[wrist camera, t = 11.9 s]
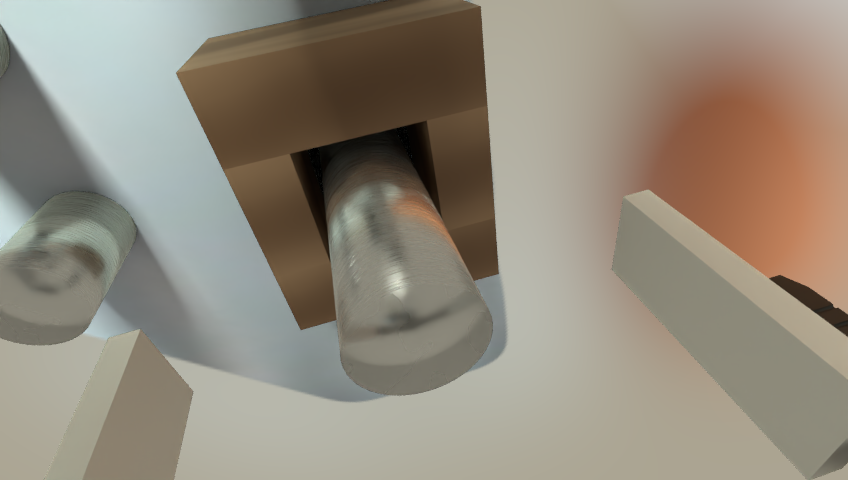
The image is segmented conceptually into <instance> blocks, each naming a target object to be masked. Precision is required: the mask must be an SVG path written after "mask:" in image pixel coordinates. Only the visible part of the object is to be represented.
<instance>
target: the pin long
mask: <svg viewBox="0 0 848 480" xmlns="http://www.w3.org/2000/svg"><path fill="white" fill-rule="evenodd" d="M9 60H10V49H9V44H8V40H7V37H6V35H5V33H4V31H3V29H2V27H1V25H0V77H1V76H2V75H3V74H4V73H5V71H6V70H7V67H8V65H9Z"/></svg>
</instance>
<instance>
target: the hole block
mask: <svg viewBox="0 0 848 480" xmlns="http://www.w3.org/2000/svg"><path fill="white" fill-rule="evenodd" d="M176 74H177V76H178V78H179V80H180V82H181V84H182V87H183V89H184V91H185V93H186V95H187V97H188V99H189V101H190V103H191V105H192V107H193V109H194V111H195V113H196V115H197V117H198V119H199V122H200V124H201V126H202V128H203V130H204V132H205V134H206V136H207V138H208V140H209V142H210V144H211V146H212V148H213V150H214V152H215V154H216V156H217V159H218V161H219V163H220V165H221V167H222V169H223V171H224V173H225V175H226V177H227V179H228V181H229V183H230V185H231V187H232V189H233V191H234V194H235V196H236V198H237V200H238V202H239V204H240V206H241V208H242V210H243V212H244V214H245V216H246V218H247V220H248V222H249V224H250V226H251V229H252V231H253V233H254V235H255V237H256V239H257V241H258V243H259V245H260V247H261V249H262V251H263V253H264V255H265V257H266V259H267V261H268V263H269V266H270V268H271V270H272V272H273V274H274V276H275V278H276V280H277V282H278V284H279V286H280V288H281V290H282V292H283V294H284V296H285V298H286V301H287V303H288V305H289V307H290V309H291V311H292V313H293V315H294V317H295V319H296V321H297V323H298V325H299V327H300V329H301V330H303V329H306V328H310V327H313V326H317V325H320V324H324V323H327V322H331V321H334V320H337V318H336V308H335V298H334V289H333V279H332V269H331V259H330V250H329V240H328V230H327V220H326V211H325V201H324V196H323V194H322V191H321V188H320V185H319V182H318V179H317V176H316V173H315V170H314V167H313V164H312V162H311V159H310V156H309V153H308V149H312V148H316V147H320V146H324V145H328V144H332V143H336V142H341V141H345V140H349V139H353V138H357V137H361V136H365V135H369V134H373V133H378V132H382V131H386V130H390V129H394V128H398V127H402V126H406V127H407V133H408V138H409V143H410V149H411V154H412V159H413V165H414V167H415V169H416V171H417V173H418V175H419V176H420V178H421V180H422V182H423V184H424V186H425V188H426V190H427V192H428V194H429V196H430V198H431V200H432V201H433V203H434V205H435V207H436V209H437V211H438V213H439V215H440V217H441V219H442V221H443V223H444V225H445V226H446V228H447V230H448V232H449V234H450V236H451V238H452V240H453V242H454V244H455V246H456V248H457V250H458V251H459V253H460V255H461V257H462V259H463V261H464V263H465V265H466V267H467V269H468V271H469V273H470V275H471V276H472V278H473V280H474V281H475V280H478V279H482V278H485V277H489V276H492V275H496V274H499V271H498V256H497V242H496V227H495V212H494V197H493V182H492V167H491V153H490V138H489V123H488V108H487V93H486V79H485V64H484V49H483V34H482V19H481V7H480V6H478V5H475V4H472V3H469V2H467V1H464V0H388V1H383V2H378V3H373V4H369V5H364V6H359V7H355V8H350V9H345V10H340V11H336V12H331V13H326V14H322V15H317V16H312V17H307V18H303V19H298V20H293V21H288V22H284V23H279V24H274V25H270V26H265V27H260V28H255V29H251V30H246V31H241V32H237V33H232V34H227V35H222V36H218V37H213V38H208V39H207V41H206V42H205V43H204V44H203V45H202V46H201V47H200V48H199V49H198V50H197V51H196V52H195V53H194V54H193V55H192V56H191V58H190V59H189V60H188V61H187V62H186V63H185V64H184V65H183V66H182V67H181V68H180V69H179V70H178V71H177V72H176Z"/></svg>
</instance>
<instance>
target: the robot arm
mask: <svg viewBox="0 0 848 480" xmlns="http://www.w3.org/2000/svg"><path fill="white" fill-rule="evenodd" d="M612 270H613V271H614V272H615V273H616V275H617V276H618V277H619V278H620V279H621V280H622V281H623V282H624V283H625V284H626V285H627V286H628V288H629V289H630V290H631V291H632V292H633V293H634V294H635V295H636V296H637V297H638V298H639V299H640V300H641V302H643V304H644V305H645V306H646V307H647V308H648V309H649V310H650V311H651V312H652V313H653V314H654V315H655V317H656V318H658V320H659V321H660V322H661V323H662V324H663V325H664V326H665V327H666V328H667V329H668V331H669V332H670V333H671V334H672V335H673V336H674V337H675V338H676V339H677V340H678V341H679V342H680V343H681V345H682V346H683V347H684V348H685V349H686V350H687V351H688V352H689V353H690V354H691V355H692V356H693V357H694V359H695V360H697V362H698V363H699V364H700V365H701V366H702V367H703V368H704V369H705V370H706V371H707V373H708V374H709V375H710V376H711V377H712V378H713V379H714V380H715V381H716V382H717V383H718V384H719V385H720V386H721V388H722V389H723V390H725V392H726V393H727V394H728V395H729V396H730V397H731V398H732V399H733V400H734V402H735V403H736V404H737V405H738V406H739V407H740V408H741V409H742V410H743V411H744V412H745V413H746V414H747V415H748V417H749V418H750V419H751V420H752V421H753V422H754V423H755V424H756V425H757V426H758V427H759V428H760V430H762V432H763V433H764V434H765V435H766V436H767V437H768V438H769V439H770V440H771V441H772V442H773V444H774V445H775V446H776V447H777V448H778V449H779V450H780V451H781V452H782V453H783V454H784V455H785V456H786V458H787V459H788V460H789V461H790V462H791V463H792V464H793V465H794V466H795V467H796V468H797V469H798V470H799V472H800V473H802V475H803V476H804V477H805V478H806V479H807V480H811V479H814V478H817V477H820V476H822V475H825V474H828V473H830V472H833V471H836V470H839V469H842V468H843V467H844V466H845V465H846V464H847V463H848V314H846V313H845V312H843V311H842V310H841V309H839V308H834V307H833V304H832V303H831V302H829V301H827V300H826V299H825V298H823V297H822V296H820V295H819V294H817V293H816V292H815V291H813V290H812V289H810V288H809V287H807V286H805V285H802V284H800V283H797V282H795V281H793V280H790V279H788V278H786V277H783V276H781V275H778V276H775V277H772V278H767V277H766V276H764V275H763V274H762V273H760V272H759V271H758V270H756V269H755V268H754V267H752V266H751V265H750V264H748V263H747V262H745V261H744V260H743V259H741V258H740V257H739V256H737V255H736V254H735V253H733V252H732V251H731V250H729V249H728V248H727V247H725V246H724V245H723V244H721V243H720V242H718V241H717V240H716V239H714V238H713V237H712V236H710V235H709V234H708V233H706V232H705V231H704V230H702V229H701V228H699V227H698V226H697V225H695V224H694V223H693V222H691V221H690V220H689V219H687V218H686V217H685V216H683V215H682V214H680V213H679V212H678V211H676V210H675V209H674V208H672V207H671V206H670V205H668V204H667V203H666V202H664V201H663V200H662V199H660V198H659V197H657V196H656V195H655V194H653V193H652V192H651V191H649V190H646V191H642V192H639V193H635V194H631V195H627V196H624V197H623V202H622V209H621V215H620V221H619V227H618V234H617V240H616V246H615V252H614V258H613V265H612ZM192 395H193V391H192V389H191V388H190V387H189V386H188V385H187V384H186V382H185V381H184V380H183V379H182V377H181V376H180V375H179V374H178V373H177V372H176V370H175V369H174V368H173V367H172V366H171V365H170V363H169V362H168V361H167V360H166V359H165V357H164V356H163V355H162V354H161V353H160V351H159V350H158V349H157V348H156V347H155V346H154V344H153V343H152V342H151V341H150V340H149V338H148V337H147V336H146V335H145V334H144V332H143V331H142V330H141V329H138V330H135V331H131V332H127V333H124V334H120V335H116V336H113V337H109V338H108V340H107V342H106V345H105V347H104V349H103V351H102V353H101V356H100V358H99V360H98V362H97V364H96V366H95V369H94V371H93V373H92V375H91V377H90V380H89V382H88V384H87V386H86V388H85V391H84V393H83V395H82V397H81V399H80V401H79V404H78V406H77V408H76V410H75V412H74V415H73V417H72V419H71V421H70V423H69V425H68V428H67V430H66V432H65V434H64V437H63V439H62V441H61V443H60V445H59V447H58V450H57V452H56V454H55V456H54V459H53V461H52V463H51V465H50V467H49V469H48V471H47V474H46V476H45V478H44V480H174V477H175V472H176V468H177V463H178V459H179V454H180V449H181V445H182V440H183V435H184V431H185V427H186V422H187V418H188V413H189V409H190V404H191V399H192Z"/></svg>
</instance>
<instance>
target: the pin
mask: <svg viewBox="0 0 848 480" xmlns="http://www.w3.org/2000/svg"><path fill="white" fill-rule="evenodd" d="M319 152H320V162H321V172H322V181H323V191H324V201H325V211H326V220H327V230H328V240H329V250H330V259H331V269H332V279H333V289H334V298H335V308H336V318H337V328H338V337H339V347H340V357H341V363H342V366H343V368H344V370H345V372H346V374H347V375H348V376H349V377H350V379H351V380H353V381H354V382H355V383H356V384H358V385H359V386H361V387H362V388H365V389H367V390H369V391H372V392H375V393H379V394H385V395H410V394H417V393H422V392H426V391H429V390H433V389H436V388H438V387H441V386H443V385H445V384H448V383H449V382H451V381H453V380H455V379H457V378H458V377H460V376H461V375H463V374H464V373H465V372H467V371H468V370H469V369H470V368H471V367H472V366H473V365H474V364H475V363H476V362H477V361H478V360H479V359H480V358H481V356H482V355H483V354H484V352H485V351H486V349H487V347H488V345H489V342H490V339H491V336H492V331H493V322H492V317H491V314H490V311H489V309H488V307H487V305H486V303H485V301H484V300H483V298H482V296H481V294H480V292H479V290H478V288H477V286H476V284H475V282H474V280H473V278H472V276H471V275H470V273H469V271H468V269H467V267H466V265H465V263H464V261H463V259H462V257H461V255H460V253H459V251H458V250H457V248H456V246H455V244H454V242H453V240H452V238H451V236H450V234H449V232H448V230H447V228H446V226H445V225H444V223H443V221H442V219H441V217H440V215H439V213H438V211H437V209H436V207H435V205H434V203H433V201H432V200H431V198H430V196H429V194H428V192H427V190H426V188H425V186H424V184H423V182H422V180H421V178H420V176H419V175H418V173H417V171H416V169H415V167H414V165H413V163H412V161H411V159H410V157H409V155H408V153H407V151H406V150H405V148H404V146H403V144H402V142H401V140H400V138H399V136H398V134H397V132H396V130H395V128H394V129H390V130H386V131H382V132H378V133H373V134H369V135H365V136H361V137H357V138H353V139H349V140H345V141H341V142H336V143H332V144H328V145H324V146H320V147H319Z"/></svg>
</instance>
